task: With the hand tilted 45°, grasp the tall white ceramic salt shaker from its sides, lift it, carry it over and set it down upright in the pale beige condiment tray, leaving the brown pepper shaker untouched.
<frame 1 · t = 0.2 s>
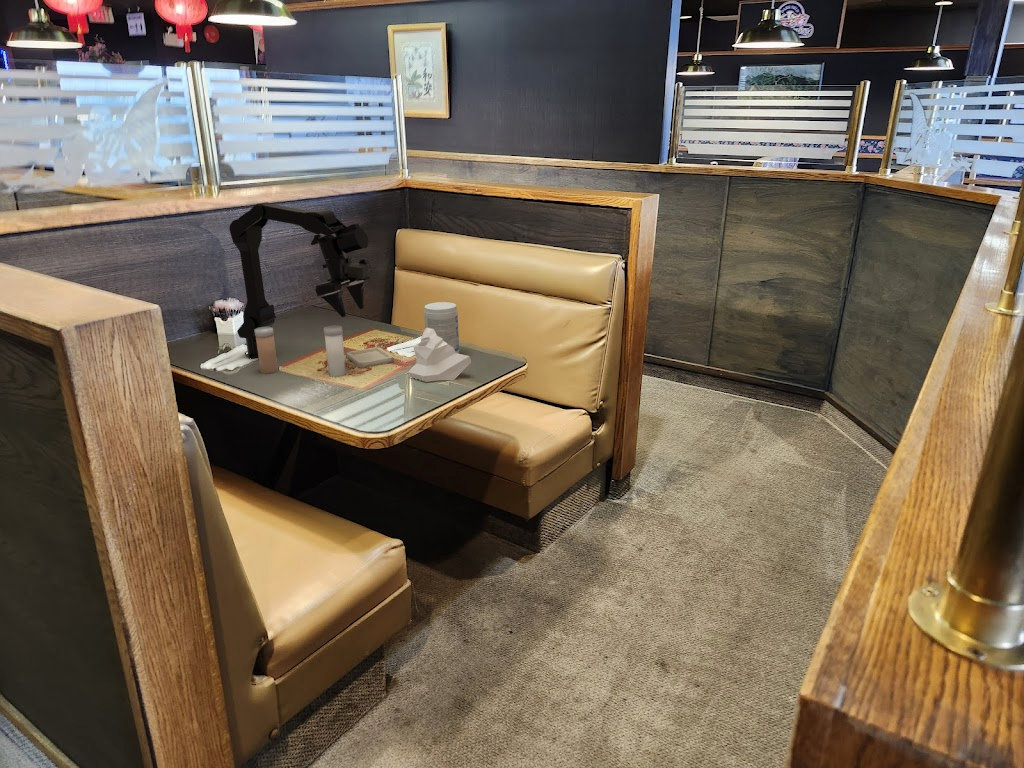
hand: (353, 312, 197), 15 cm above the table, tool tilted 15°, fingers open, 9 cm apart
supplement tub: (443, 354, 212), on the table
tray: (369, 359, 208), on the table
pepper shaker: (269, 370, 199), on the table
salt shaker: (337, 373, 196), on the table
white faceted sculpture: (436, 376, 194), on the table
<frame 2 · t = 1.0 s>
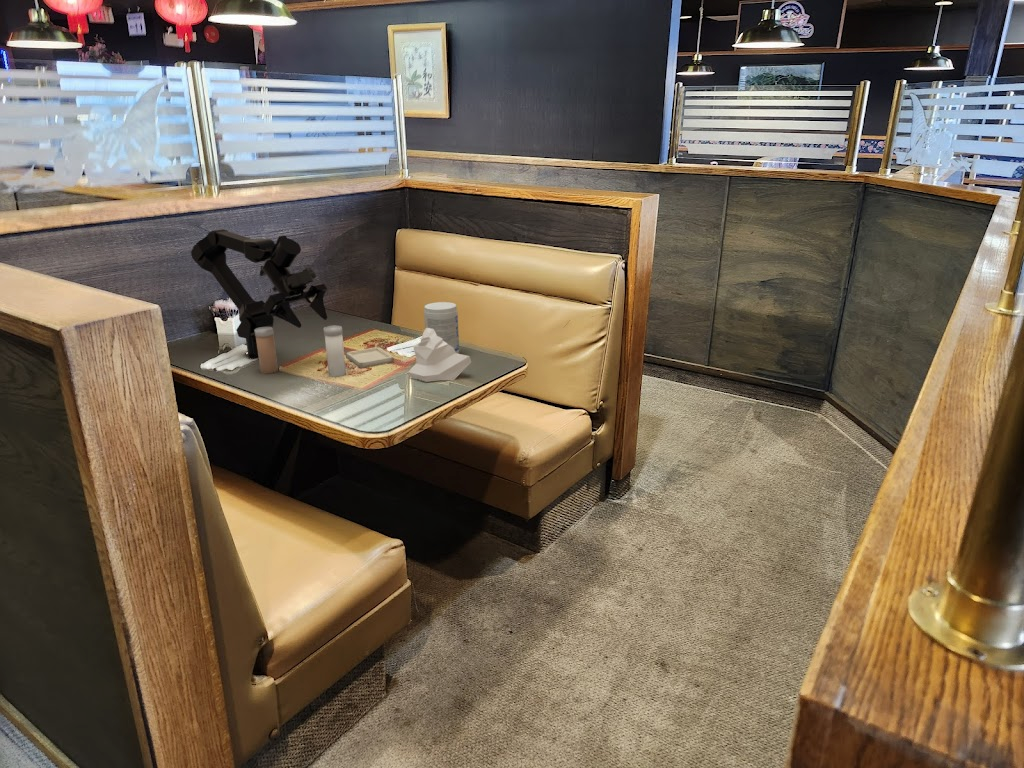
hand: (313, 322, 196), 13 cm above the table, tool tilted 45°, fingers open, 9 cm apart
nothing on the table moved.
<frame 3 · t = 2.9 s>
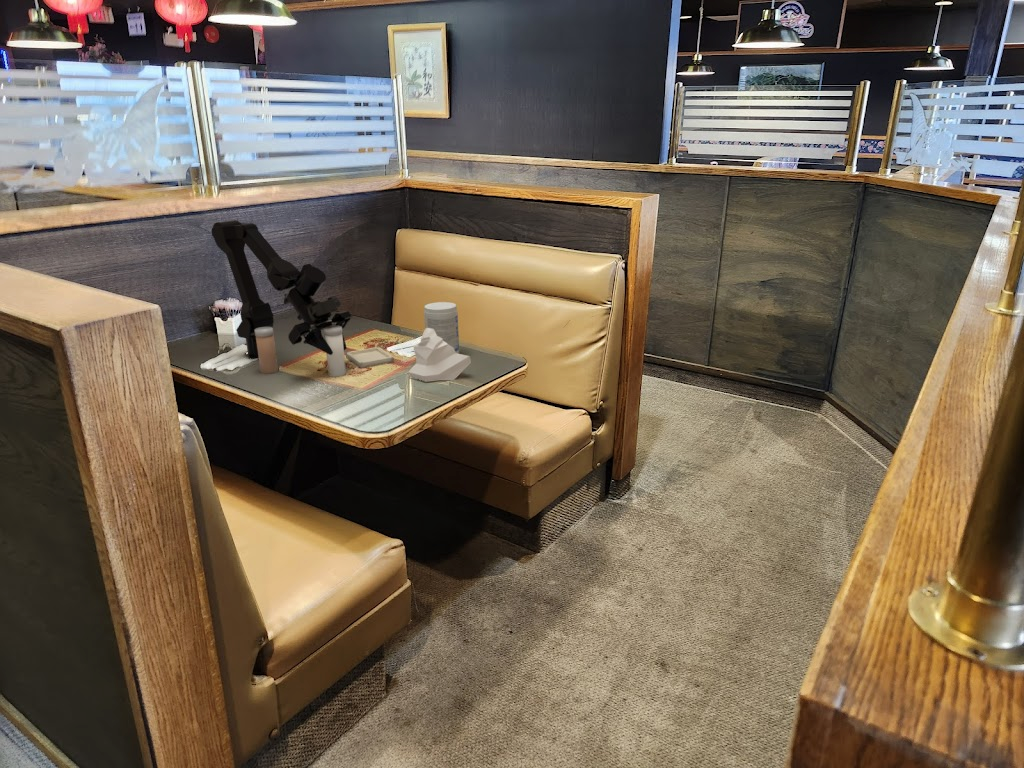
hand: (338, 351, 193), 7 cm above the table, tool tilted 45°, fingers closed on salt shaker, 5 cm apart
salt shaker: (337, 373, 196), on the table, touching gripper
everything else where it was.
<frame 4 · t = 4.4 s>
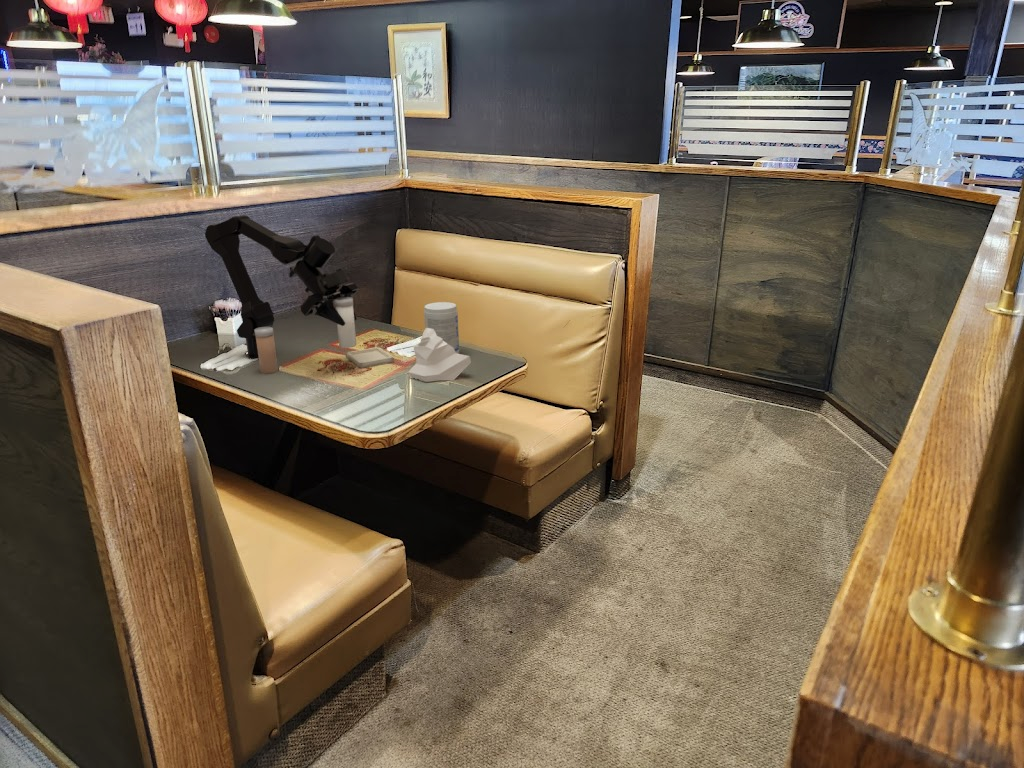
hand: (349, 322, 194), 14 cm above the table, tool tilted 45°, fingers closed on salt shaker, 5 cm apart
salt shaker: (347, 345, 197), point 7 cm above the table, touching gripper
everything else where it was.
when the fingers open (8 cm above the table, at t = 6.2 s): salt shaker drops 1 cm, resting on tray.
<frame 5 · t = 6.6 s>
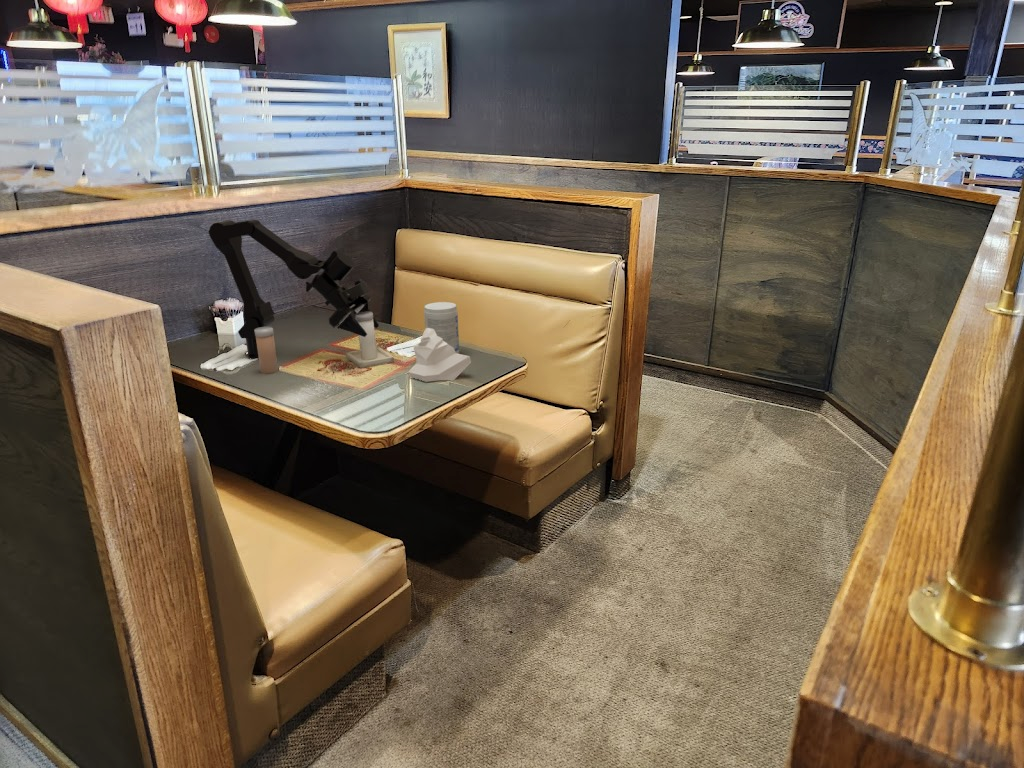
hand: (372, 331, 204), 9 cm above the table, tool tilted 45°, fingers open, 9 cm apart
salt shaker: (369, 357, 207), point 1 cm above the table, touching tray
everything else where it was.
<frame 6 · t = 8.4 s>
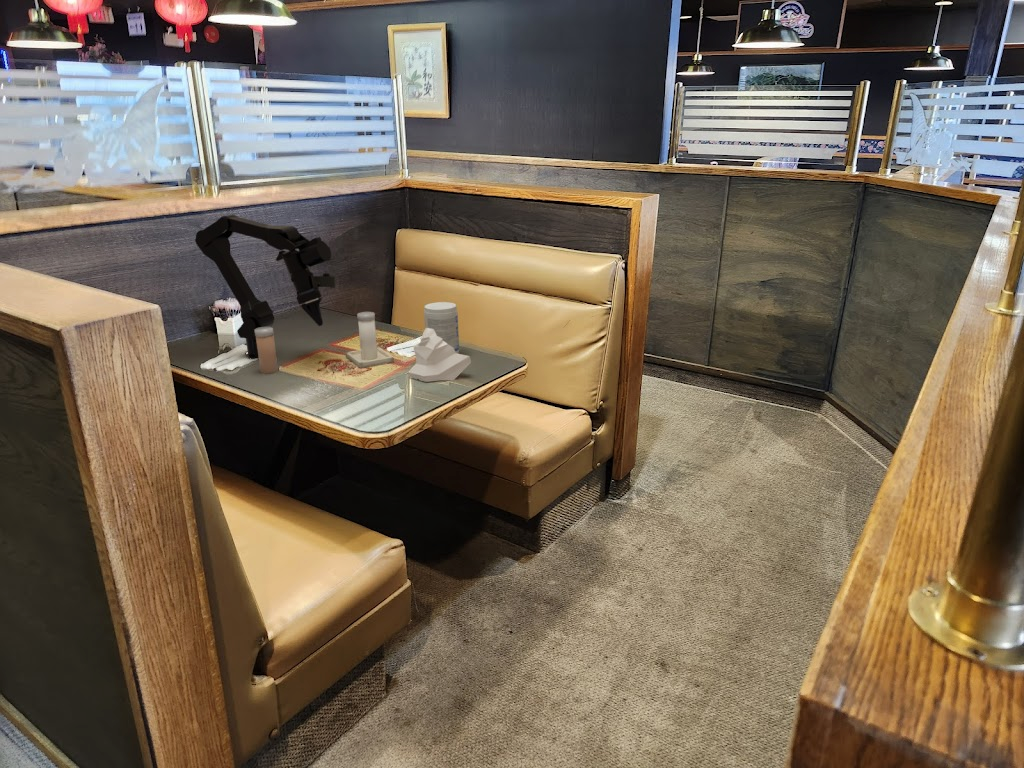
hand: (321, 324, 202), 11 cm above the table, tool tilted 20°, fingers open, 9 cm apart
nothing on the table moved.
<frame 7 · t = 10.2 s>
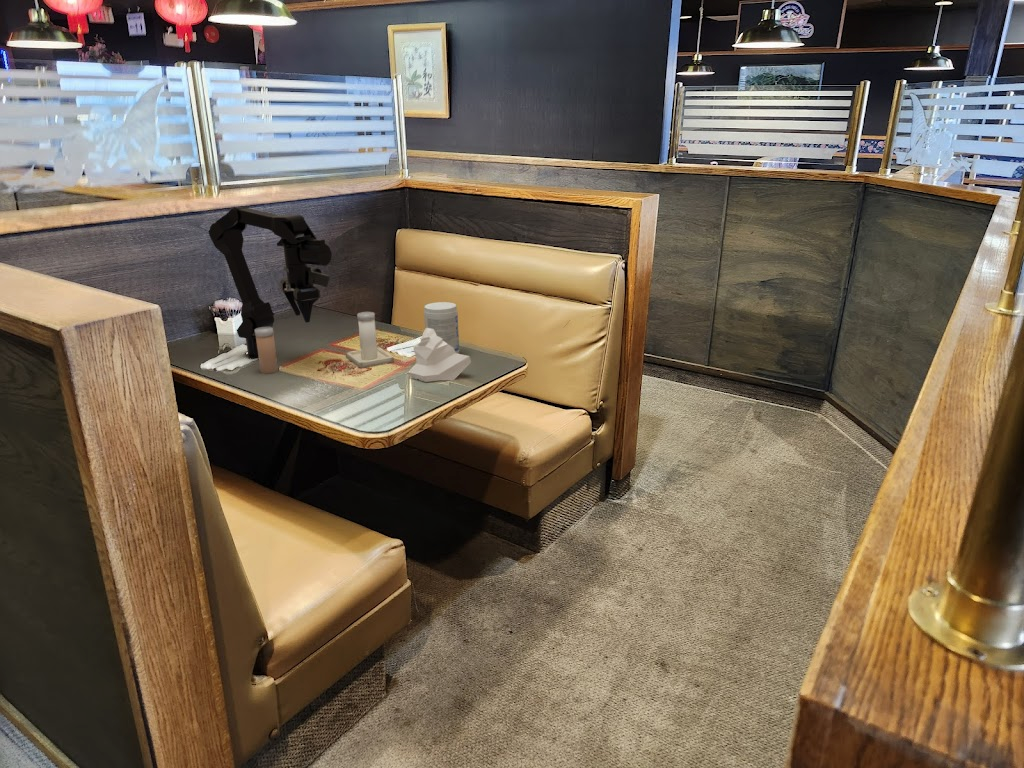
hand: (302, 318, 201), 13 cm above the table, tool pointing down, fingers open, 9 cm apart
nothing on the table moved.
at the end: salt shaker inside the target area on the tray (0.0 cm from its centre), point 0.6 cm above the tray's base; salt shaker tilted 0°; the gripper is holding nothing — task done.
